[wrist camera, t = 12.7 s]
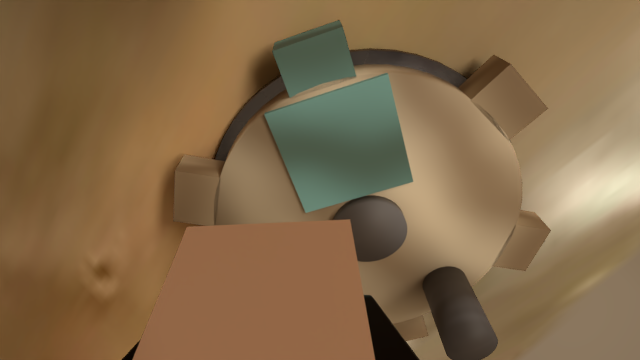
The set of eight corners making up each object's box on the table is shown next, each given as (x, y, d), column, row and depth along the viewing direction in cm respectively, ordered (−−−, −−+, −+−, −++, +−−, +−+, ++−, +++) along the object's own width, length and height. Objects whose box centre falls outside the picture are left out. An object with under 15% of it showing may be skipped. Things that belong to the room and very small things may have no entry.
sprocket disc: (376, -83, 14) (414, -100, 9) (605, 185, 21) (698, 257, 16) (124, 229, 21) (70, 313, 16) (357, 359, 27) (369, 447, 22)
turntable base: (149, 131, 19) (146, 134, 18) (478, -15, 16) (482, -15, 16) (291, 331, 26) (290, 336, 26) (529, 254, 24) (533, 259, 23)
